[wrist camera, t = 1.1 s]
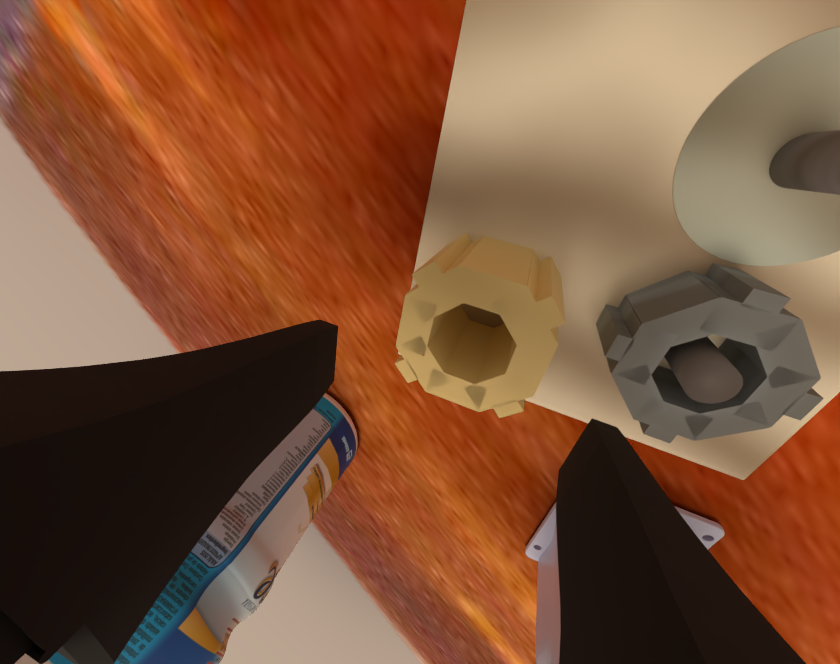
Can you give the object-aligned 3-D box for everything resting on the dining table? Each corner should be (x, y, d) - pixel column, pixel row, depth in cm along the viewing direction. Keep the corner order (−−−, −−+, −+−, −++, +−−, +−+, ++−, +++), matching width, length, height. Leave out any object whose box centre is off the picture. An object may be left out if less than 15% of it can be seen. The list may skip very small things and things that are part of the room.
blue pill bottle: (319, 363, 24) (-250, 866, 7) (383, 453, 26) (62, 1018, 9) (252, 395, 28) (-205, 756, 11) (311, 470, 30) (0, 876, 13)
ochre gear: (526, 361, 17) (518, 427, 13) (427, 327, 18) (389, 377, 14) (570, 259, 14) (579, 301, 10) (450, 226, 15) (413, 251, 11)
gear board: (732, 461, 17) (787, 552, 13) (405, 343, 20) (371, 388, 17) (1231, -32, 8) (1901, -220, 4) (494, -94, 11) (465, -227, 7)
